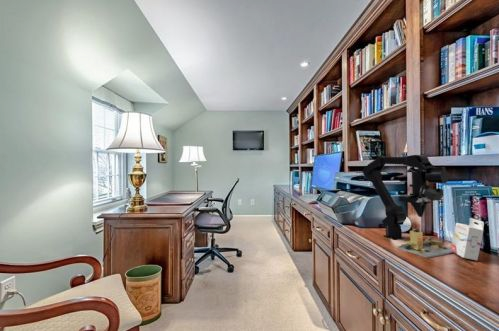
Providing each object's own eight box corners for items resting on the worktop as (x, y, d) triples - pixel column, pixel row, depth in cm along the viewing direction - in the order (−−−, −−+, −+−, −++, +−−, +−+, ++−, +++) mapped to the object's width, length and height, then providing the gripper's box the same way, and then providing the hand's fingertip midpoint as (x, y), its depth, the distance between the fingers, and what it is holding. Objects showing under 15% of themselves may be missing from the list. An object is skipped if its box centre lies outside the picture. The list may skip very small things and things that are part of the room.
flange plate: (397, 248, 109) (397, 246, 109) (429, 243, 114) (429, 241, 114) (426, 258, 96) (426, 256, 96) (460, 251, 102) (460, 250, 102)
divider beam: (400, 247, 108) (400, 241, 108) (431, 242, 113) (431, 236, 113) (417, 252, 100) (417, 246, 100) (449, 247, 106) (448, 241, 106)
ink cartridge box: (449, 250, 101) (456, 214, 101) (463, 253, 100) (470, 217, 100) (463, 257, 93) (470, 219, 92) (478, 261, 92) (486, 222, 91)
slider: (405, 245, 108) (404, 227, 108) (410, 245, 109) (409, 226, 109) (421, 251, 101) (421, 231, 101) (427, 250, 102) (426, 230, 102)
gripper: (420, 184, 103) (421, 222, 102) (453, 182, 108) (454, 218, 108) (397, 182, 113) (398, 217, 113) (428, 181, 119) (429, 214, 119)
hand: (420, 216), depth 113 cm, fingers closed
